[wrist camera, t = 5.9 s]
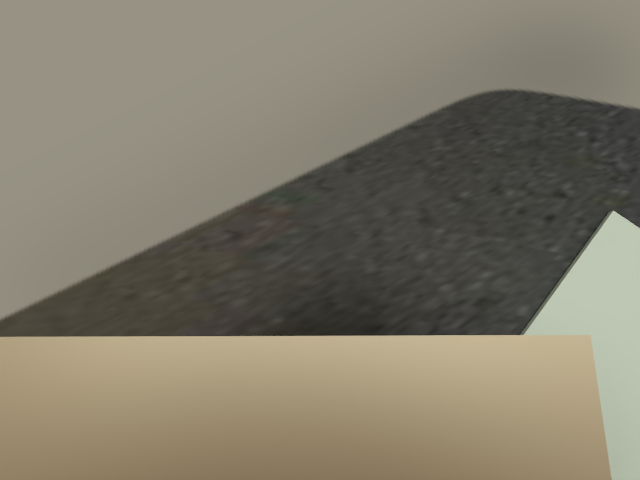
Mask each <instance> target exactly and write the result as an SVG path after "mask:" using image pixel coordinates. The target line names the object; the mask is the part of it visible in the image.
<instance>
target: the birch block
mask: <svg viewBox="0 0 640 480" xmlns="http://www.w3.org/2000/svg"><path fill="white" fill-rule="evenodd" d="M0 480H612V479H611V472H610V465H609V459H608V452H607V445H606V438H605V431H604V424H603V417H602V410H601V404H600V397H599V390H598V383H597V376H596V369H595V362H594V355H593V349H592V342H591V335H435V336H149V337H0Z"/></svg>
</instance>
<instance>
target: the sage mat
mask: <svg viewBox="0 0 640 480" xmlns="http://www.w3.org/2000/svg"><path fill="white" fill-rule="evenodd" d="M520 335H591V342H592V349H593V355H594V362H595V369H596V376H597V383H598V390H599V397H600V404H601V410H602V417H603V424H604V431H605V438H606V445H607V452H608V459H609V465H610V472H611V479H612V480H640V228H638V227H637V226H635V225H634V224H632V223H631V222H629V221H628V220H626V219H625V218H624V217H622V216H621V215H619V214H618V213H616V212H615V211H611V212H609V213H608V214H607V215H606V217H605V218H604V220H603V221H602V222H601V224H600V225H599V226H598V228H597V229H596V231H595V232H594V233H593V235H592V236H591V237H590V239H589V240H588V242H587V243H586V244H585V246H584V247H583V249H582V250H581V251H580V253H579V254H578V255H577V257H576V258H575V260H574V261H573V262H572V264H571V265H570V266H569V268H568V269H567V271H566V272H565V273H564V275H563V276H562V278H561V279H560V280H559V282H558V283H557V284H556V286H555V287H554V289H553V290H552V291H551V293H550V294H549V295H548V297H547V298H546V300H545V301H544V302H543V304H542V305H541V307H540V308H539V309H538V311H537V312H536V313H535V315H534V316H533V318H532V319H531V320H530V322H529V323H528V324H527V326H526V327H525V329H524V330H523V331H522V333H521V334H520Z"/></svg>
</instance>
